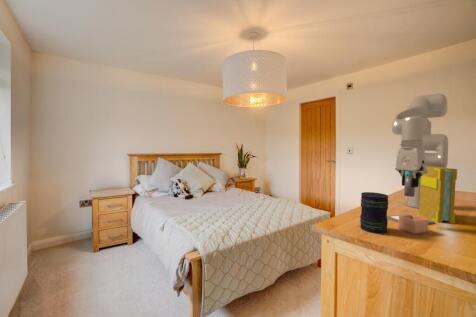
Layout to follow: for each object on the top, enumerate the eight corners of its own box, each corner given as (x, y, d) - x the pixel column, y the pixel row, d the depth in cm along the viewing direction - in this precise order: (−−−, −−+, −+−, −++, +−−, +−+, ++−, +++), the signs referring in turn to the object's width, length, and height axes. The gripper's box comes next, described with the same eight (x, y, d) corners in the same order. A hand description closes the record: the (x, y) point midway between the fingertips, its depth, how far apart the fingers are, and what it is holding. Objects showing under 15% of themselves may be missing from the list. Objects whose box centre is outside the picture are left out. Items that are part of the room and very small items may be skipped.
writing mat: (408, 215, 112) (408, 213, 112) (434, 223, 100) (435, 221, 100) (385, 217, 108) (385, 215, 108) (409, 226, 96) (409, 224, 96)
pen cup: (410, 226, 96) (411, 214, 95) (427, 232, 89) (428, 219, 89) (398, 228, 94) (398, 215, 94) (414, 234, 87) (415, 220, 87)
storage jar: (355, 228, 94) (356, 193, 93) (366, 223, 100) (367, 191, 99) (381, 236, 86) (382, 198, 85) (391, 230, 92) (392, 195, 91)
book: (454, 223, 100) (457, 169, 99) (437, 222, 101) (440, 168, 100) (430, 212, 117) (432, 166, 115) (415, 211, 118) (417, 165, 117)
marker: (408, 194, 100) (409, 168, 99) (416, 196, 96) (418, 169, 96) (401, 195, 99) (402, 168, 98) (410, 196, 95) (411, 169, 95)
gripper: (387, 145, 104) (386, 183, 104) (425, 144, 87) (423, 190, 88) (400, 145, 105) (398, 183, 106) (439, 144, 89) (437, 189, 90)
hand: (409, 185), depth 97 cm, fingers closed on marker, 3 cm apart
